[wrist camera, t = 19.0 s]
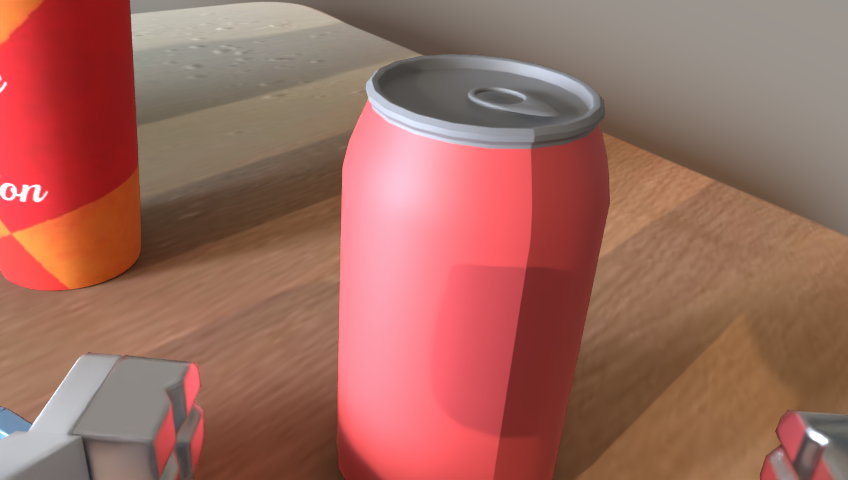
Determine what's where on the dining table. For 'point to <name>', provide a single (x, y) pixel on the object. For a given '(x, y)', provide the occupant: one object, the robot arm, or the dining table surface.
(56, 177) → the paper cup
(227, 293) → the dining table surface
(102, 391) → the robot arm
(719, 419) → the dining table surface
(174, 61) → the dining table surface
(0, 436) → the bowl
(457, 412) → the beer can
